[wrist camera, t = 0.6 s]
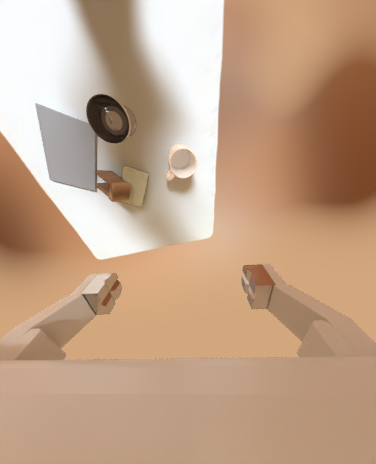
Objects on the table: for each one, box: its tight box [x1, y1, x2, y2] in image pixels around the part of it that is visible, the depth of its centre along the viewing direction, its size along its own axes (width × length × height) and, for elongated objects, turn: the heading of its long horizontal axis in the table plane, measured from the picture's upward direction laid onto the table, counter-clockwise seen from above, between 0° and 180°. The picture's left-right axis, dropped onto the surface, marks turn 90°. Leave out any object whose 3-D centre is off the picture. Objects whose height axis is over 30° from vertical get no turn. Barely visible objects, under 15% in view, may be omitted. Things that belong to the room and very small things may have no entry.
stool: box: [96, 170, 131, 202], centre depth 45 cm, size 6×11×11 cm, turn 69°
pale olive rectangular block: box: [119, 166, 149, 207], centre depth 50 cm, size 12×8×4 cm, turn 159°
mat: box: [35, 103, 96, 191], centre depth 42 cm, size 20×13×1 cm, turn 159°
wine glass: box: [86, 94, 136, 143], centre depth 34 cm, size 8×8×15 cm
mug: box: [166, 144, 197, 181], centre depth 45 cm, size 12×8×10 cm
